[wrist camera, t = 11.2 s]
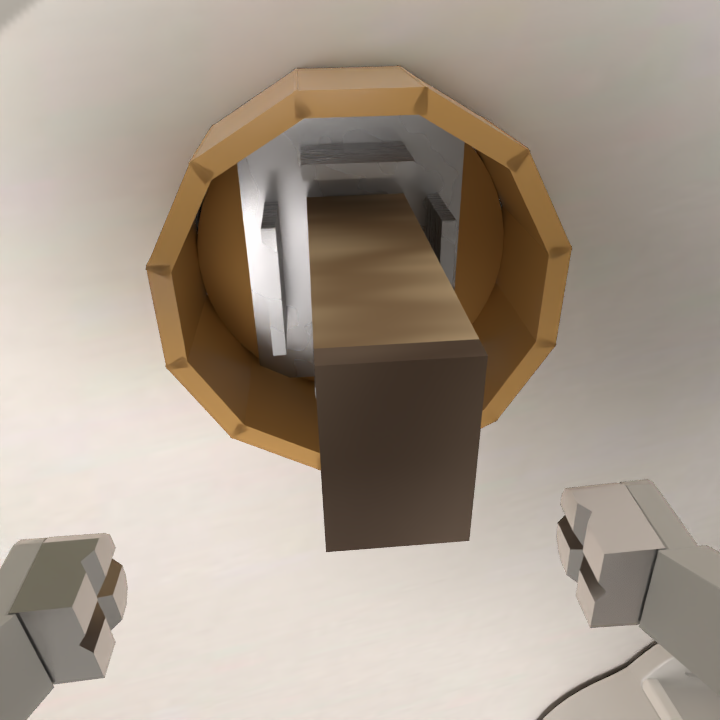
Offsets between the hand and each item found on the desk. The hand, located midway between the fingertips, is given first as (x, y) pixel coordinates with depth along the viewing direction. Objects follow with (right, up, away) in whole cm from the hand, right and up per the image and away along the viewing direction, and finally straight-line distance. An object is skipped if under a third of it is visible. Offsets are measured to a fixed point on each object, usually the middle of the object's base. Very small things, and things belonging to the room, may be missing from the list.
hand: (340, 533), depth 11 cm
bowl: (0, +7, +10) cm, 12 cm away
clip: (0, +7, +10) cm, 12 cm away
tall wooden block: (0, +6, +9) cm, 11 cm away
